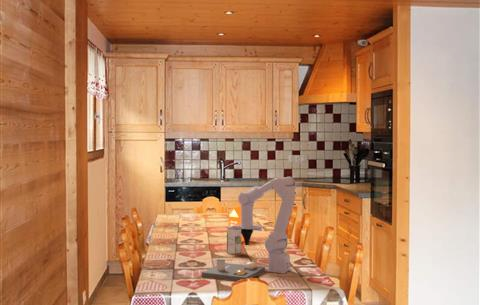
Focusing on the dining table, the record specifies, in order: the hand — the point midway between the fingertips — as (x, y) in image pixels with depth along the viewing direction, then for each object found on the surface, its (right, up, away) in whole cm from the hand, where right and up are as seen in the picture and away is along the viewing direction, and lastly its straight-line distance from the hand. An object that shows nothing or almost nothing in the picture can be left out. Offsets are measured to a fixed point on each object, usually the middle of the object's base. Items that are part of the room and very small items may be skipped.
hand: (247, 244), depth 272 cm
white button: (+1, -8, -17) cm, 19 cm away
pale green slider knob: (-12, -8, -19) cm, 24 cm away
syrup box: (-7, -9, +25) cm, 27 cm away
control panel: (-6, -10, -19) cm, 22 cm away
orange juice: (-5, -8, +60) cm, 60 cm away
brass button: (-3, -10, -26) cm, 28 cm away
